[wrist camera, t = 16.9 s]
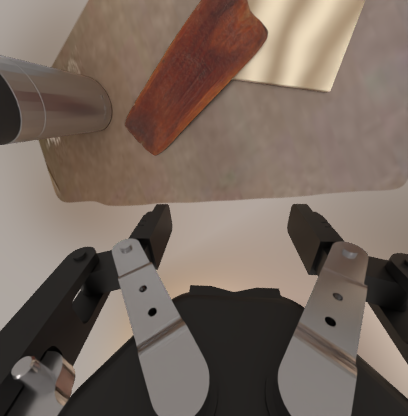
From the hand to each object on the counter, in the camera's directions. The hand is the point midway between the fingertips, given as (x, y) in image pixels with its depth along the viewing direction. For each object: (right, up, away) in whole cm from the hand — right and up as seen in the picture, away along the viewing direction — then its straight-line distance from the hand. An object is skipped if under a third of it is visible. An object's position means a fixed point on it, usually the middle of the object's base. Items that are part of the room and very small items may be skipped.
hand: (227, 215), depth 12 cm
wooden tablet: (-5, +21, +18) cm, 29 cm away
